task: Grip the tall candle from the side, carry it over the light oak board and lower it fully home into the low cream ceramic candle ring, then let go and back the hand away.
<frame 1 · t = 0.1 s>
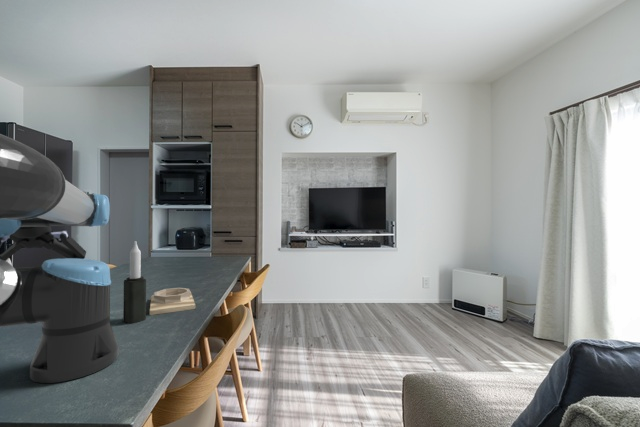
hand: (44, 276, 84), 15 cm above the table, tool tilted 35°, fingers open, 13 cm apart
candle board: (172, 303, 109), on the table
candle: (134, 320, 92), on the table
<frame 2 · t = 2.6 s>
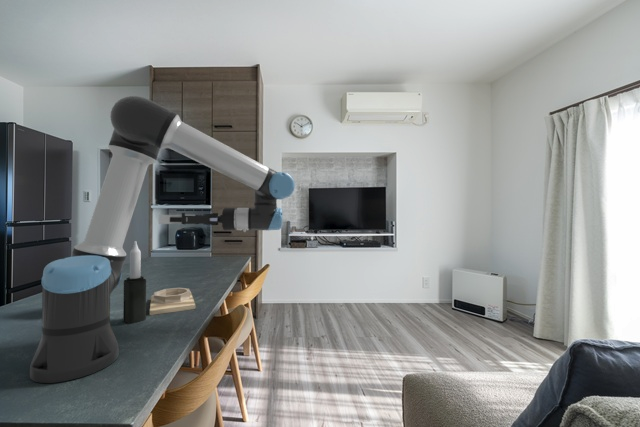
hand: (167, 219, 94), 32 cm above the table, tool horizontal, fingers open, 13 cm apart
nothing on the table moved.
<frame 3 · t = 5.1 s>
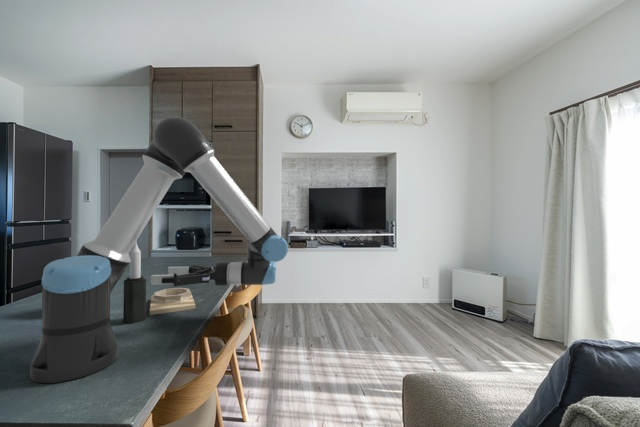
hand: (160, 275, 94), 14 cm above the table, tool horizontal, fingers open, 13 cm apart
nothing on the table moved.
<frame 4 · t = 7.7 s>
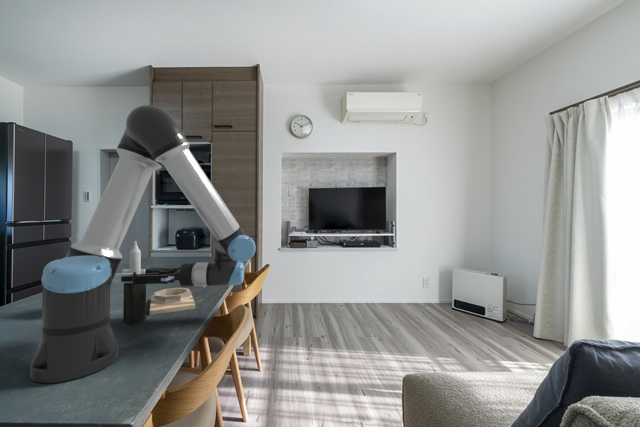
hand: (117, 276, 92), 14 cm above the table, tool horizontal, fingers closed on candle, 6 cm apart
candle: (134, 320, 92), on the table, touching gripper
everything else where it was.
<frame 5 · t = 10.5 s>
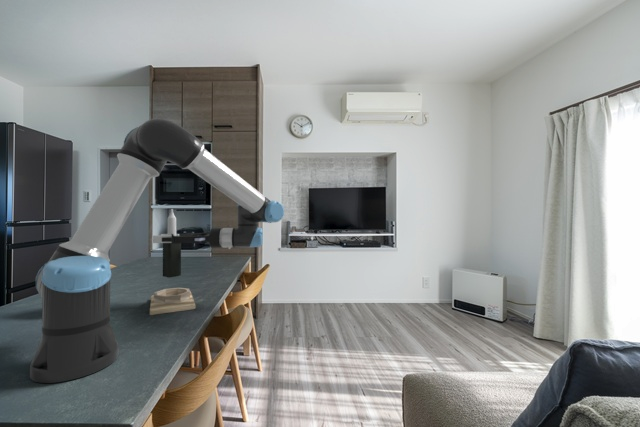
hand: (157, 238, 108), 24 cm above the table, tool horizontal, fingers closed on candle, 6 cm apart
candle: (171, 276, 109), point 10 cm above the table, touching gripper
everything else where it was.
when the fingers open (16 cm above the table, at t = 13.2 s): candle stays where it is, resting on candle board.
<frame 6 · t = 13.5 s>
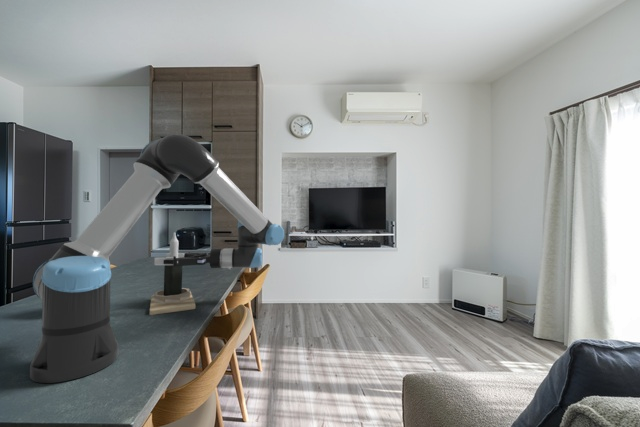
hand: (161, 259, 110), 16 cm above the table, tool horizontal, fingers open, 10 cm apart
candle: (172, 298, 111), point 1 cm above the table, touching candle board
everything else where it was.
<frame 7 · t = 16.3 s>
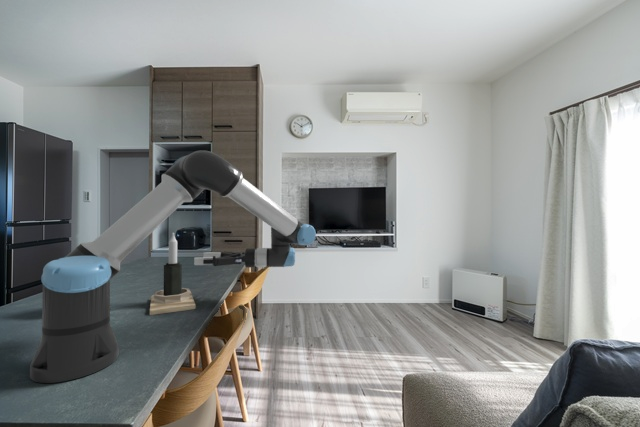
hand: (199, 258, 112), 17 cm above the table, tool horizontal, fingers open, 13 cm apart
nothing on the table moved.
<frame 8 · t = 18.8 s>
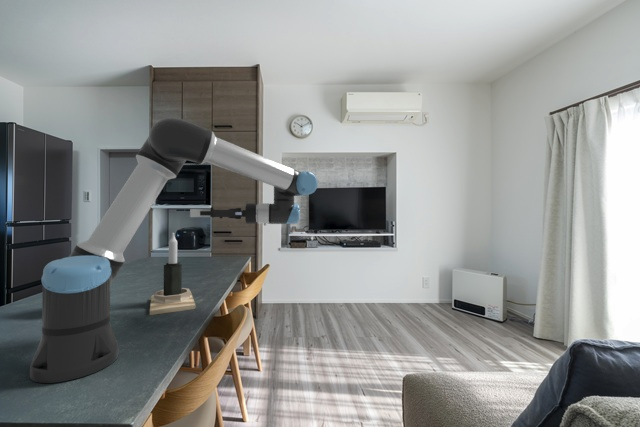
hand: (195, 213, 104), 34 cm above the table, tool horizontal, fingers open, 13 cm apart
nothing on the table moved.
at the end: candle 0.1 cm from the target spot on the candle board, point 1.3 cm above the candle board's base; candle tilted 0°; the gripper is holding nothing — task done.
